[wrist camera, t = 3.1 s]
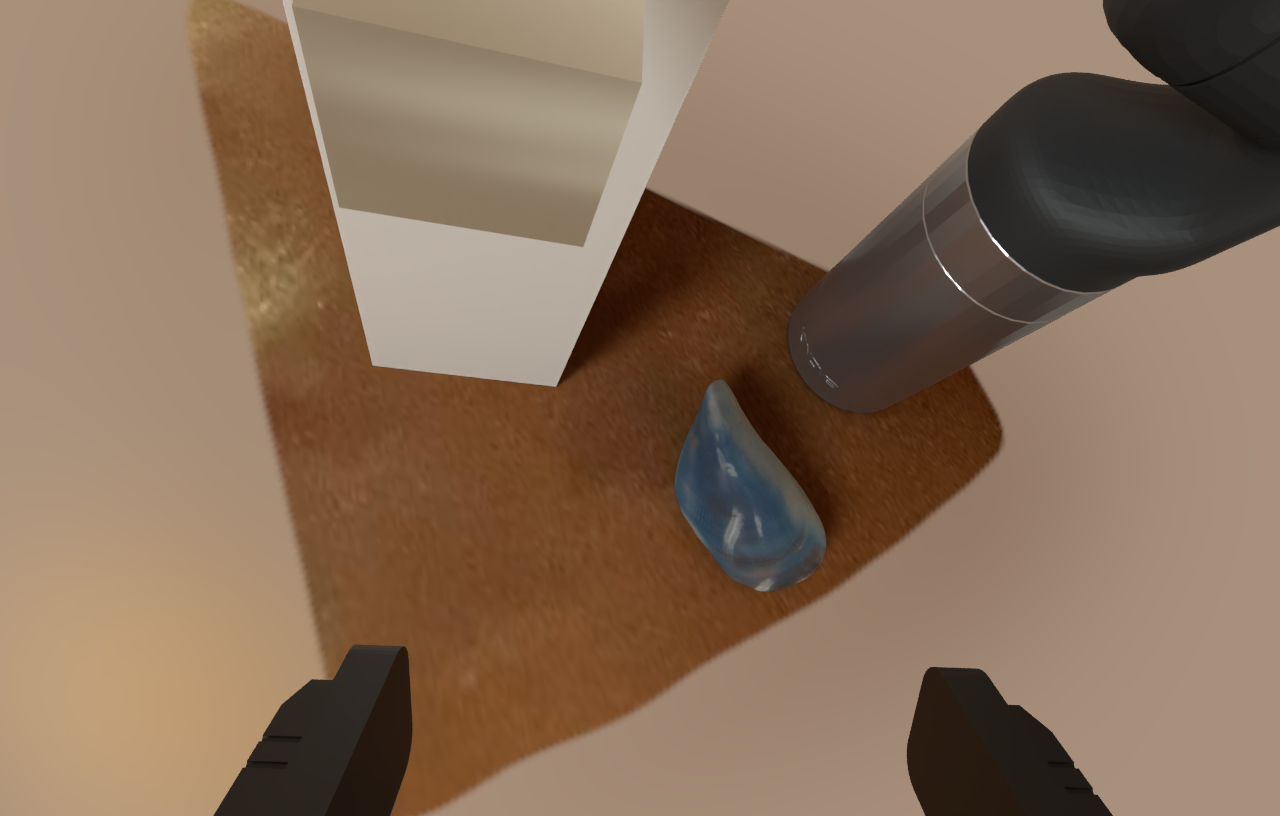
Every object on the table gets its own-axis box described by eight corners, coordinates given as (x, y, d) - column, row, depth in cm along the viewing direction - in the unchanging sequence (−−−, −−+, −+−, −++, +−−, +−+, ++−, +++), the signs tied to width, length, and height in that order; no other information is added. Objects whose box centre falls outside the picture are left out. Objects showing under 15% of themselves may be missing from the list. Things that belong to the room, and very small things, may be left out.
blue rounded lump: (808, 621, 38) (884, 449, 36) (645, 563, 38) (713, 387, 36) (789, 571, 44) (853, 422, 42) (649, 522, 44) (707, 369, 42)
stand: (398, 207, 42) (297, -799, 13) (567, 235, 44) (812, -562, 15) (372, 365, 39) (162, -487, 10) (556, 386, 41) (840, -247, 12)
